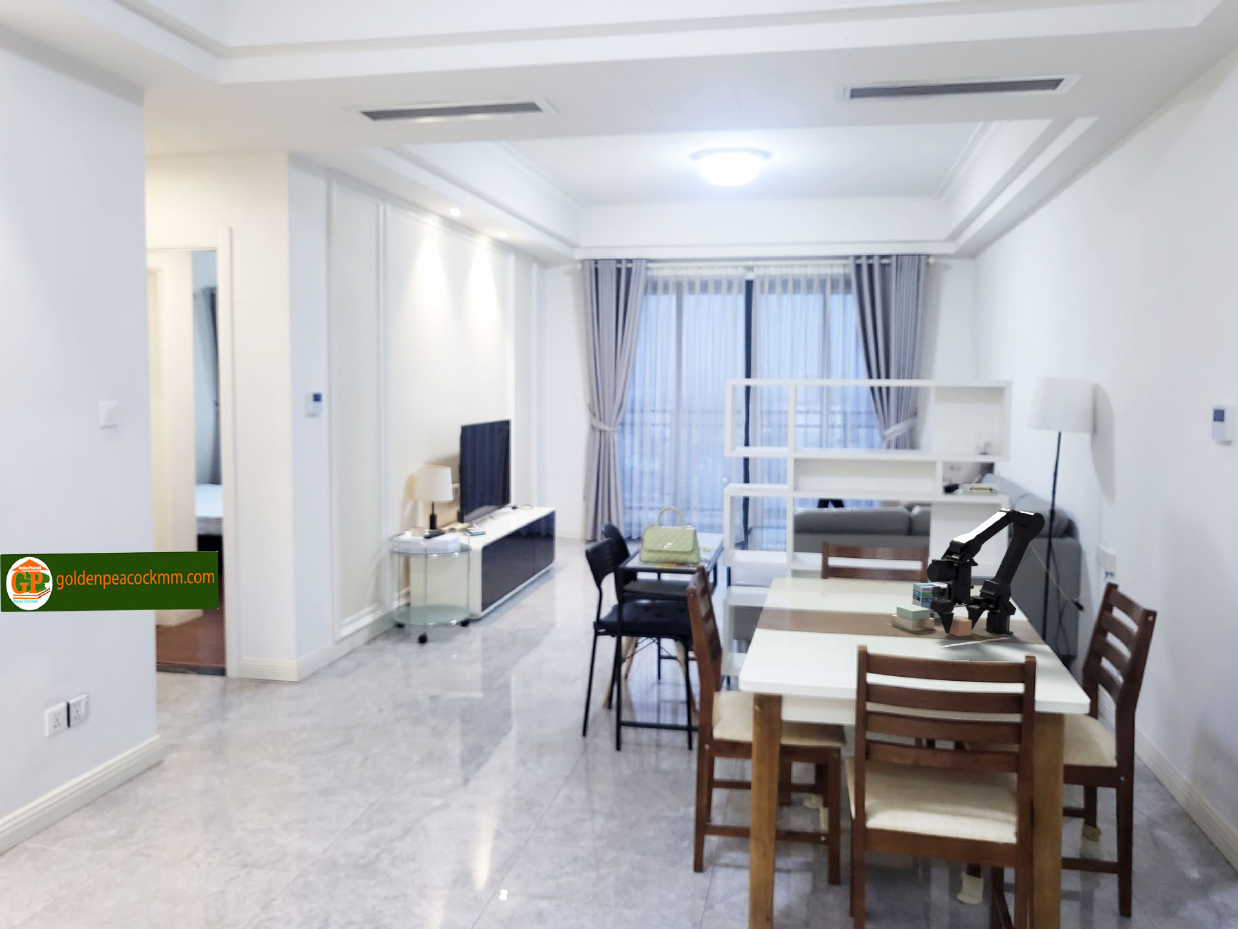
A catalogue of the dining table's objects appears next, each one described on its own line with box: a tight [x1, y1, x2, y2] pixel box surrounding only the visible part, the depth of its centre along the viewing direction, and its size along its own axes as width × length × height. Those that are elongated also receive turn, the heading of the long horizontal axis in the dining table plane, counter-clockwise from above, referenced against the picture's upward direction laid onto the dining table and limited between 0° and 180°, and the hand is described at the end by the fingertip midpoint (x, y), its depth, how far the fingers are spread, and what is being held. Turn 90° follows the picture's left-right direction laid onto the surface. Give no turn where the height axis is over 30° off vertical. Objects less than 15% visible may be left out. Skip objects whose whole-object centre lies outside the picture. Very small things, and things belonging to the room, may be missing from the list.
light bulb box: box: [911, 582, 950, 619], centre depth 313 cm, size 11×7×11 cm, turn 99°
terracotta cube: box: [948, 616, 972, 637], centre depth 290 cm, size 5×5×5 cm
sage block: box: [895, 604, 930, 620], centre depth 298 cm, size 7×7×3 cm
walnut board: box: [885, 621, 945, 636], centre depth 298 cm, size 17×14×1 cm
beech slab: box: [890, 614, 936, 631], centre depth 298 cm, size 9×9×3 cm
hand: (958, 632), depth 290 cm, fingers open, 9 cm apart
